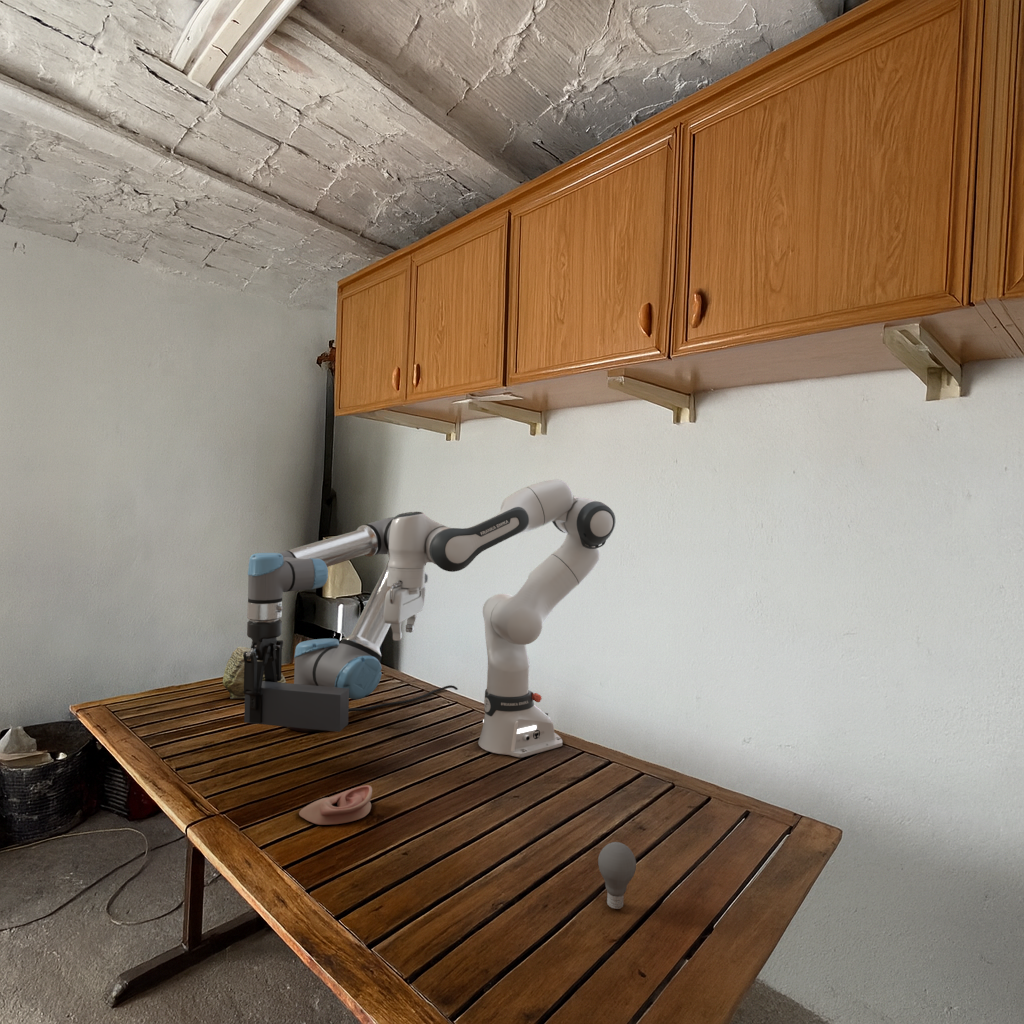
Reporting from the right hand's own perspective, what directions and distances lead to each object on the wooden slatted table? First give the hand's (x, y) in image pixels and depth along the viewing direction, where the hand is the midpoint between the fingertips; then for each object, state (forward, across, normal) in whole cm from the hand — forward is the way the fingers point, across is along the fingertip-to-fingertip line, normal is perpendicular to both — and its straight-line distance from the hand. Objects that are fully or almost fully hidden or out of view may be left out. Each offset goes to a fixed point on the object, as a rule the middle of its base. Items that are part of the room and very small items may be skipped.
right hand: (403, 635), depth 153 cm
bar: (+20, -10, +22) cm, 31 cm away
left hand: (+20, -10, +30) cm, 38 cm away
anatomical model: (+30, -27, +4) cm, 41 cm away
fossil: (+30, +36, +59) cm, 76 cm away
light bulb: (+30, -45, -51) cm, 75 cm away
